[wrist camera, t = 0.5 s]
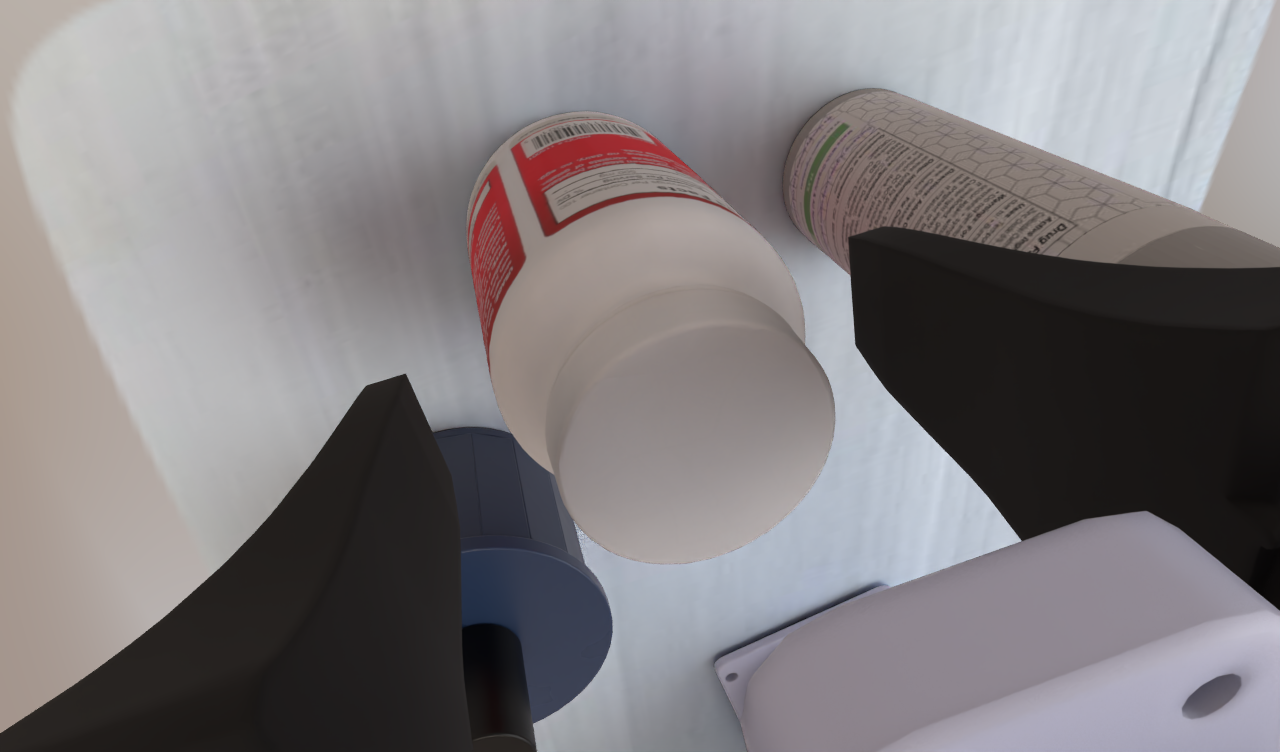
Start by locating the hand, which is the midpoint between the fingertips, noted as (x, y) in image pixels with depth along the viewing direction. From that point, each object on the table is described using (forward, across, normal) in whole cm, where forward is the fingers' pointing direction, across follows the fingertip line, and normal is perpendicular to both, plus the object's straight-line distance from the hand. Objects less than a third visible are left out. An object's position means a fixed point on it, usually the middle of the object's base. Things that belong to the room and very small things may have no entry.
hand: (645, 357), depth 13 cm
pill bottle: (+10, 0, +2) cm, 10 cm away
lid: (+5, +6, +10) cm, 12 cm away
